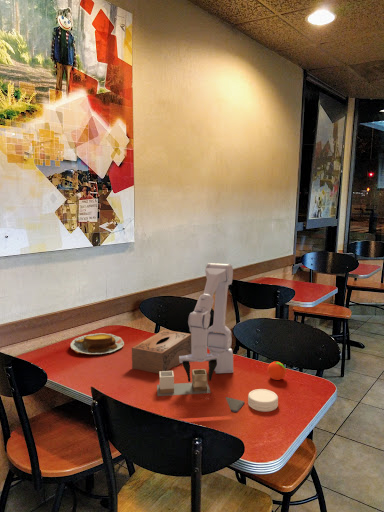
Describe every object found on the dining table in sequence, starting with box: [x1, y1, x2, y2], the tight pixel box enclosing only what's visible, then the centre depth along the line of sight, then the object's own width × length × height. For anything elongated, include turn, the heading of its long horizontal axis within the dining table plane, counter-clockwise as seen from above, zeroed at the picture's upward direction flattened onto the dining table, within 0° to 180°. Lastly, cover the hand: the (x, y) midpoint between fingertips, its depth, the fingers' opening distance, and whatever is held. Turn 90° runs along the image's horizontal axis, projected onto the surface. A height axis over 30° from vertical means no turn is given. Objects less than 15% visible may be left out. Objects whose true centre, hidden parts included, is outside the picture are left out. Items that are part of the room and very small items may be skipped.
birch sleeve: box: [191, 368, 208, 391], centre depth 147 cm, size 5×5×6 cm
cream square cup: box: [159, 370, 175, 393], centre depth 146 cm, size 5×5×6 cm
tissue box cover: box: [131, 329, 192, 374], centre depth 174 cm, size 26×14×10 cm, turn 153°
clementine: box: [266, 360, 287, 381], centre depth 156 cm, size 8×7×7 cm
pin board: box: [156, 381, 212, 397], centre depth 147 cm, size 19×9×4 cm, turn 96°
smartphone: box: [225, 396, 245, 413], centre depth 139 cm, size 8×1×15 cm
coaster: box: [247, 388, 279, 413], centre depth 137 cm, size 10×10×4 cm
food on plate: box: [70, 332, 125, 355], centre depth 193 cm, size 25×25×7 cm
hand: (199, 380), depth 147 cm, fingers open, 7 cm apart
